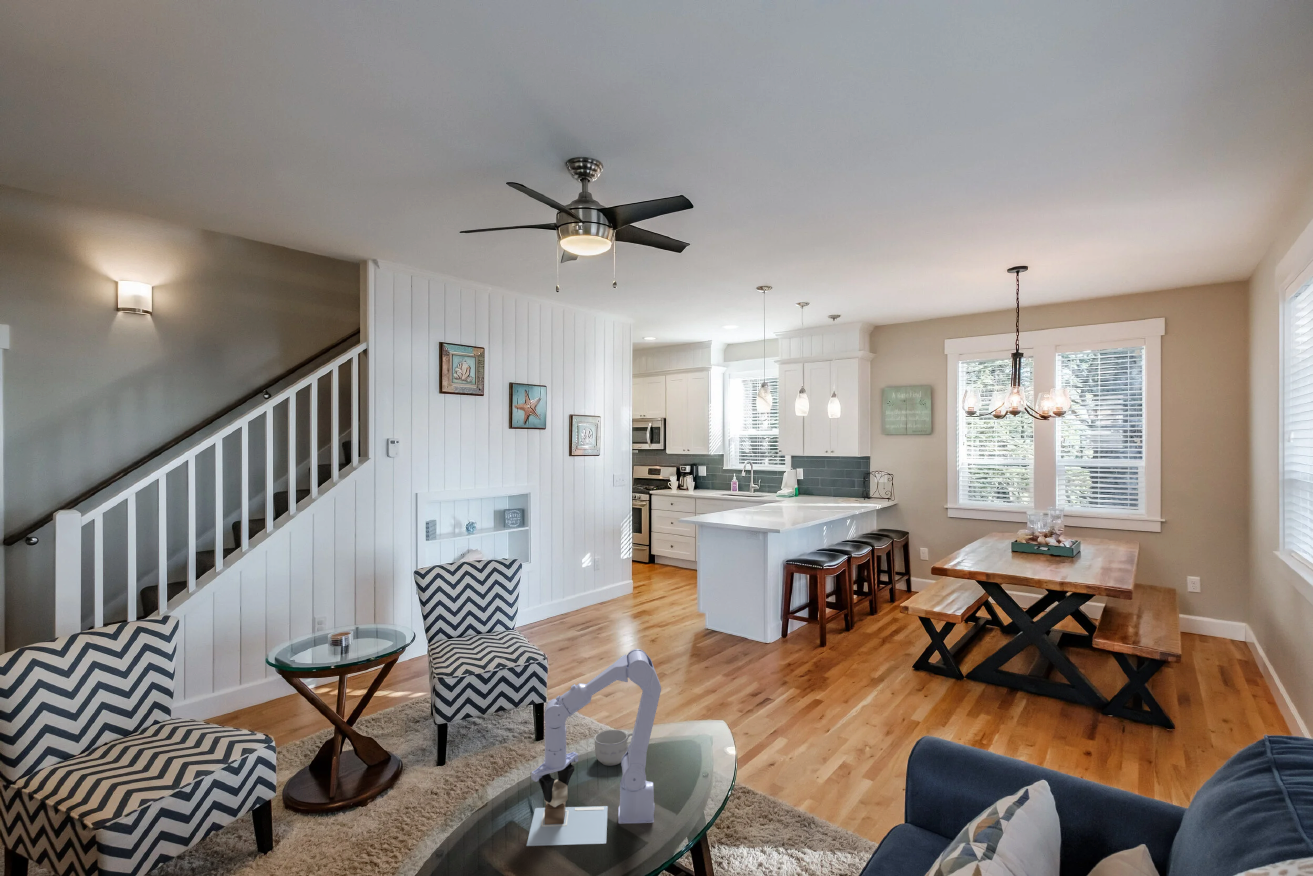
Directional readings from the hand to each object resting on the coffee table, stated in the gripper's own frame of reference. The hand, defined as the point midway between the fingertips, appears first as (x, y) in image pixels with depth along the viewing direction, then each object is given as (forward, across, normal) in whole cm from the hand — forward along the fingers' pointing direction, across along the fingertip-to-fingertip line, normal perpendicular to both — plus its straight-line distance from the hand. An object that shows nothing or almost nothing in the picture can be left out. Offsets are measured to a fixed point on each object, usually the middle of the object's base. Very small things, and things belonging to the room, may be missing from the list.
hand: (555, 797), depth 167 cm
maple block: (+1, 0, 0) cm, 1 cm away
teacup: (+7, -33, -11) cm, 35 cm away
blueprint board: (+6, -1, +5) cm, 8 cm away
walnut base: (+6, 0, 0) cm, 6 cm away
